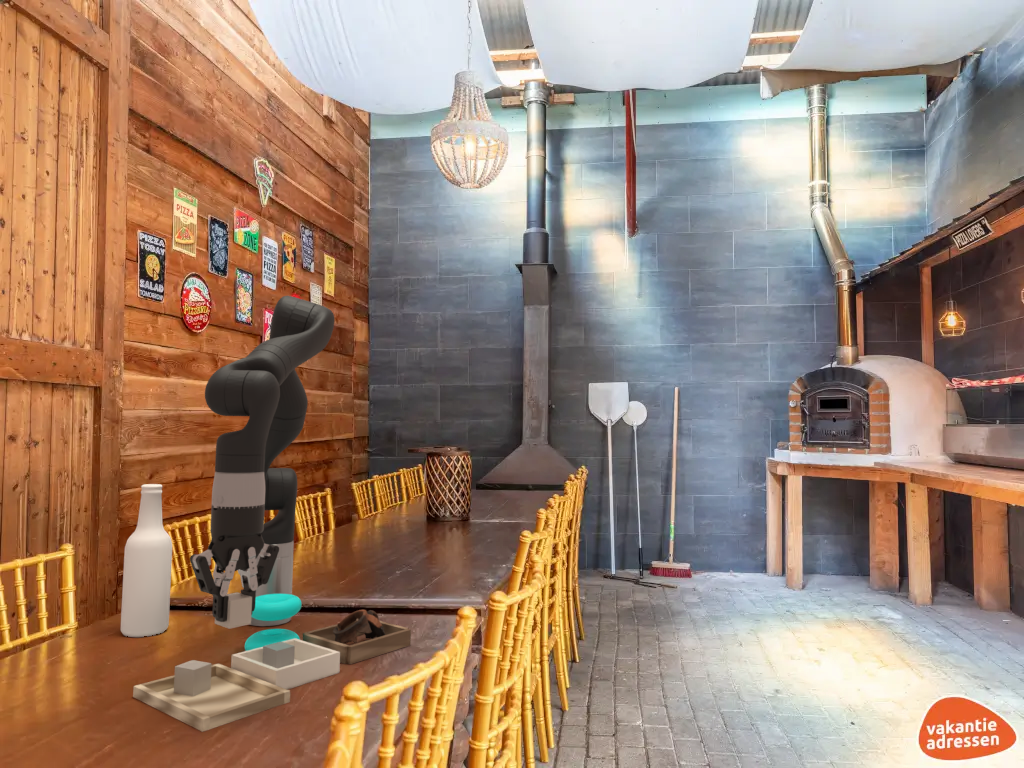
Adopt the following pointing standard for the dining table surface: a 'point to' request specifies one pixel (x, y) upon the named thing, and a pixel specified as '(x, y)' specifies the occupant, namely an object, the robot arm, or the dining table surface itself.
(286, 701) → the tray
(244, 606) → the grey cube near
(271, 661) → the grey cube
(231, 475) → the robot arm
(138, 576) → the alcohol
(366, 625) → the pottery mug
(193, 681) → the grey stone cube
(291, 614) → the donuts
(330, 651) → the dish
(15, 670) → the dining table surface
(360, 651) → the frame
